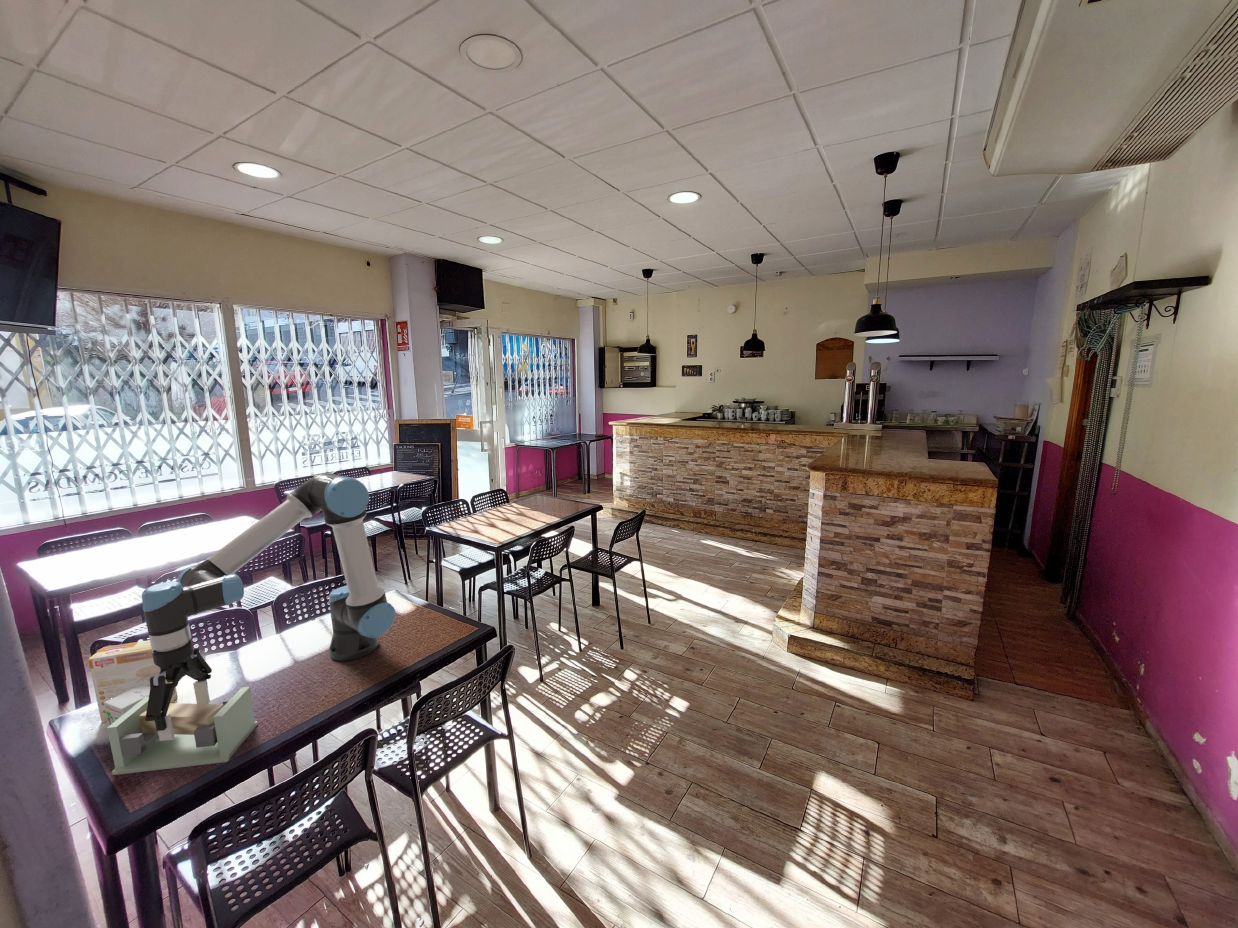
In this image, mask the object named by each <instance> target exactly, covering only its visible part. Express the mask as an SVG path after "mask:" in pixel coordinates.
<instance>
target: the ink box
mask: <svg viewBox="0 0 1238 928" xmlns="http://www.w3.org/2000/svg"><path fill="white" fill-rule="evenodd" d="M149 693H150V687H148V686H145V685H139V686H137V687H135V688H133V689H131V690H129V691H127V692H125V693H122V694H120V695H118V696H116V697H114V698H112V699H109V700H107V701H105V702H104V706H105V711H106V716H107V721H106V722H107V724H108V725H107V726H108V727H109V726H110V725H111V724H112V723H114V722H115V721H116V720H117V719H119V718H120V717H121V716H122V715H124V714H125V713H126V712H127V711H128V710H130V709H131V708H132V707H133V706H135V705H136V704H137V703H138V702H140V701H141V700H142V699H143V698H145V697H149Z"/></svg>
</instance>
